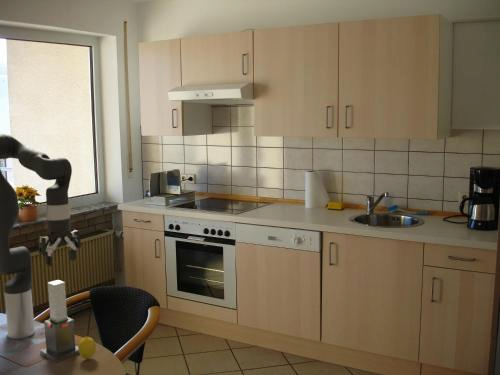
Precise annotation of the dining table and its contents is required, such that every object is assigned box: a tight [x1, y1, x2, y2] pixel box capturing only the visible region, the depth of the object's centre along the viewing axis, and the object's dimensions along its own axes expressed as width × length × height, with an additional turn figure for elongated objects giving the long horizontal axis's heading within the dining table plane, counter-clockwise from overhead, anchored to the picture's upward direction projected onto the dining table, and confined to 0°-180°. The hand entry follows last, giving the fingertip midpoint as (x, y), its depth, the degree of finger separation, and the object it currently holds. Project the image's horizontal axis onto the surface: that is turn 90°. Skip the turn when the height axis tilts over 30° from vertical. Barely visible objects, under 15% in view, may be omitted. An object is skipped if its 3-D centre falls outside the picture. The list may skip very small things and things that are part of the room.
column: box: [47, 279, 69, 324], centre depth 185 cm, size 4×4×19 cm
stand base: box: [39, 316, 80, 363], centre depth 186 cm, size 10×10×12 cm
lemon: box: [78, 336, 97, 360], centre depth 182 cm, size 6×6×8 cm
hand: (61, 263), depth 186 cm, fingers open, 8 cm apart
